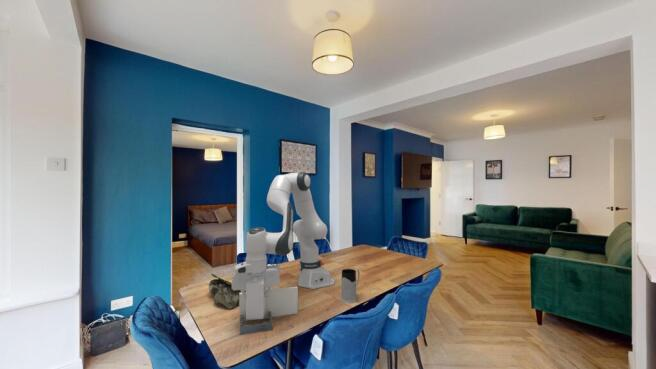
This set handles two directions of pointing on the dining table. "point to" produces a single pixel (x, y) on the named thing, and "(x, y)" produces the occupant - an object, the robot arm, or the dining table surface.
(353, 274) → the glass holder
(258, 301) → the milk carton
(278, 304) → the wall board
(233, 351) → the dining table surface
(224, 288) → the hollow geode rock
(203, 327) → the dining table surface
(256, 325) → the cleat bracket
